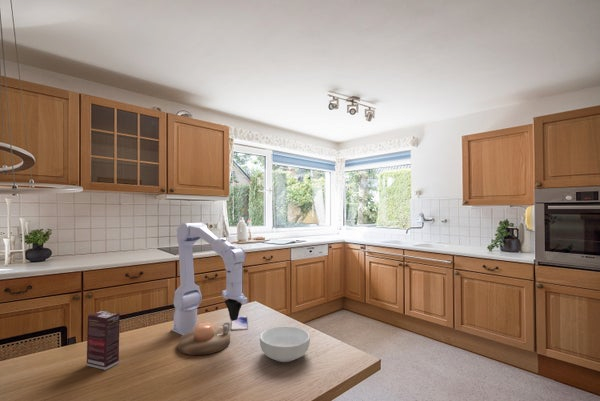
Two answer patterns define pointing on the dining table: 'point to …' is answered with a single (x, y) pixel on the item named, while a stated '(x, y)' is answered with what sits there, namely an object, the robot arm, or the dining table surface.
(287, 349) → the cereal bowl
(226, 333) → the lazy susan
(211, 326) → the peach knob
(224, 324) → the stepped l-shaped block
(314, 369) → the dining table surface
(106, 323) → the supplement box
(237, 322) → the smartphone
